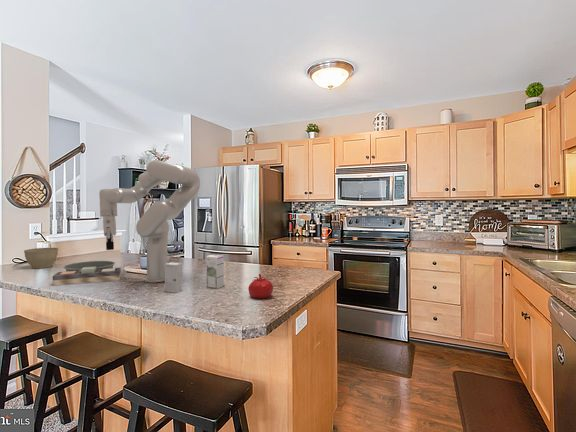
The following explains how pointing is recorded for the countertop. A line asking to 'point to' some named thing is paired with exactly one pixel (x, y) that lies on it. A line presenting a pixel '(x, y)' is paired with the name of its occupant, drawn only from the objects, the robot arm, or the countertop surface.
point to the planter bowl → (41, 257)
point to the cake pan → (89, 265)
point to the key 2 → (108, 270)
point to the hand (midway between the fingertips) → (110, 249)
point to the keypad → (86, 277)
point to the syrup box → (215, 271)
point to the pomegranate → (260, 288)
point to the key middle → (88, 269)
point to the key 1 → (68, 273)
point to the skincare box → (173, 277)
